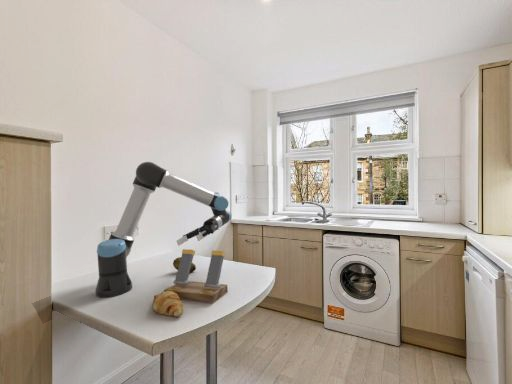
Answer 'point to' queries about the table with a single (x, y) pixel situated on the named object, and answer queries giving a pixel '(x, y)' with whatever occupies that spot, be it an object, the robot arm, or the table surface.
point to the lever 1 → (184, 267)
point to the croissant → (168, 304)
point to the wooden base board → (198, 291)
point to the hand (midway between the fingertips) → (187, 240)
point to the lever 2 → (214, 269)
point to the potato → (177, 262)
